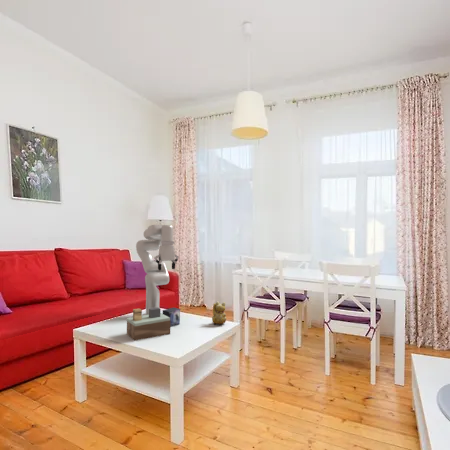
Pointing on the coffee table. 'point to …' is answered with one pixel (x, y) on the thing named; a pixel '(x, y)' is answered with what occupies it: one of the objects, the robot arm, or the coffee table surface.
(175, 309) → the small box
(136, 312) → the wooden block
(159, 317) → the lid
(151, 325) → the open brown wooden box
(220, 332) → the coffee table surface
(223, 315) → the decorative figurine
